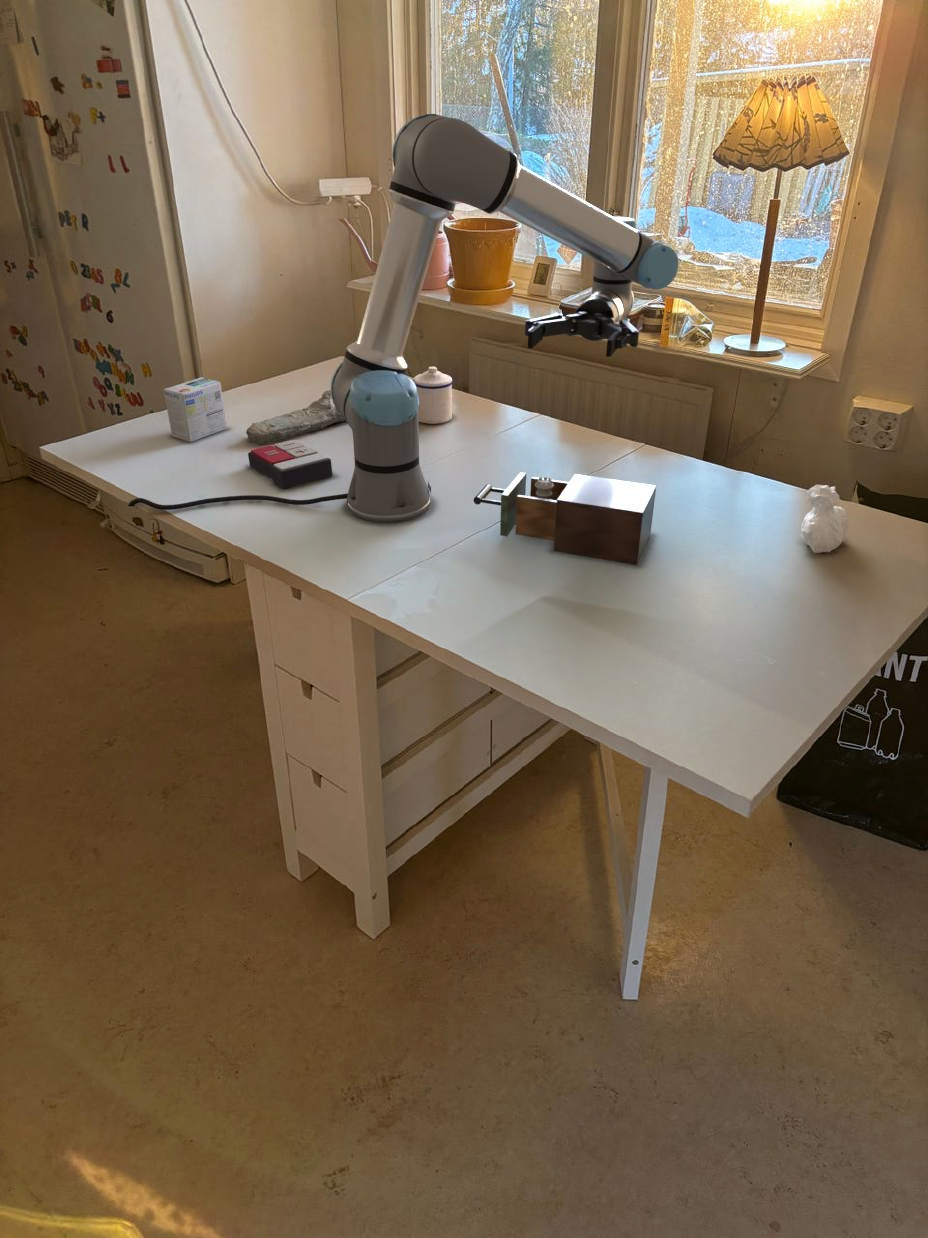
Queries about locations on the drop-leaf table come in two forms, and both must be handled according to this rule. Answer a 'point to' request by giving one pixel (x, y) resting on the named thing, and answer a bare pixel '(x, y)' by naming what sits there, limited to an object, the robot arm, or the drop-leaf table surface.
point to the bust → (824, 520)
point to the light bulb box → (195, 409)
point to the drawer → (525, 508)
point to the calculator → (290, 464)
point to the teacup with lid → (434, 396)
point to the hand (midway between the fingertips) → (568, 344)
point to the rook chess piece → (544, 488)
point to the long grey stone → (296, 421)
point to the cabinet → (604, 518)
